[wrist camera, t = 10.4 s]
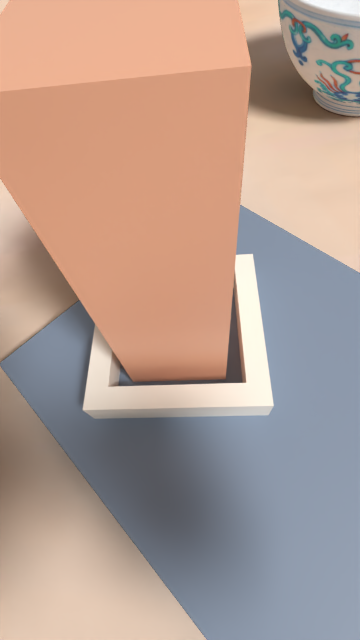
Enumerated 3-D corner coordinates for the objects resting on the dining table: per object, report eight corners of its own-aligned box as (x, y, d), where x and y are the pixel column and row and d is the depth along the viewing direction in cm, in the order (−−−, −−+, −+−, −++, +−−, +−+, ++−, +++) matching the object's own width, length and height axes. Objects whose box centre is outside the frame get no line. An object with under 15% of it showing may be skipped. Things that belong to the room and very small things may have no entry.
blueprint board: (390, 867, 10) (411, 910, 9) (10, 372, 18) (-2, 363, 17) (592, 428, 14) (621, 423, 13) (216, 205, 23) (216, 191, 22)
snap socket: (268, 415, 15) (273, 405, 13) (94, 418, 16) (82, 410, 14) (249, 272, 19) (252, 253, 17) (112, 280, 19) (104, 262, 18)
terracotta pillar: (225, 379, 16) (252, 65, 5) (133, 381, 16) (-53, 97, 5) (220, 300, 18) (228, -43, 7) (139, 304, 18) (19, -16, 7)
